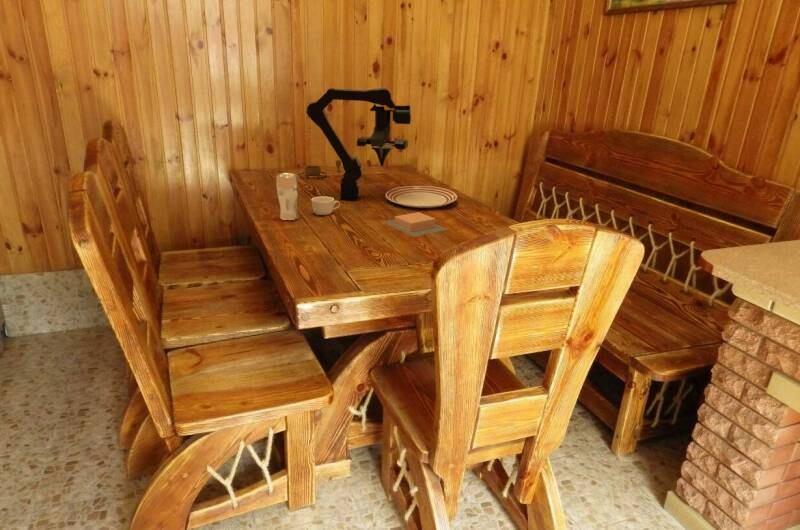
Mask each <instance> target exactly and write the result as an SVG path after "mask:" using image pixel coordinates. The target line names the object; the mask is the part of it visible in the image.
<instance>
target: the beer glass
mask: <svg viewBox="0 0 800 530" xmlns="http://www.w3.org/2000/svg"><path fill="white" fill-rule="evenodd" d="M275 181H276V182H275V184H276V193H277V198H278V202H279V207H280V214H279V220H280V219H282V220H294V221H296V220H295V219H297V218H298V219H299V215H298V211H297V210H298V209H297V204H298V203H297V202H298V196H299V194H298V193H299V187H298V176H297V174H296V173H293V172H283V173H277V174H276V180H275ZM298 219H297V220H298ZM282 220H281V221H282Z"/></svg>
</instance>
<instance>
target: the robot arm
mask: <svg viewBox="0 0 800 530" xmlns="http://www.w3.org/2000/svg"><path fill="white" fill-rule="evenodd" d="M334 100H337V101H358V102H367V103H372V104H373V105H372V107H370V108H369V111H370V112H374V128H373V133H372V134H371V136H360V137H358V138H357V139H356V146H357V147H365V146H366V145H370V146H371V150H373V151H374V152H375V153H376V156H377V158H378V161H379V164H380V166H381V167H383V166H384V165H385V163H386V160H387V158H388V154H389V153H390V151H392V150H393V149H394V148H395V149H396V150H405V149H407V148H408V147H409V140H407V139H405V138H403V139H402V138H397V139H396V140H392V139H391V137H392V136H391V130H392V125H391V120H392V122H394V124H395V125H411V119H412V116H411V105H410V104H406V105H401V104H400V105H396V103H395V102H394V101H393V99H392V96H391V92H390V90H389V89H388V88H386V87H378V88H371V89H350V88H349V89H348V88H346V89H345V88H335V87H330V88H328V89H327V91H326V92H325V93H324V94H323V95H322V96H321V97H320V98H319V99H318V100H317V101H311V103H310V104H308V105H307V107H306V115H307V116H308V118H309V119H311V121H312V122H313V123H314V124H315V125H316V126H317V127H318V128H319V129H321V131H322V133H323V134H324V136H325V137H326V139H327V140H328V143H329V144H330V145H331V147H332V149H333V151H334V152H335V153H336V155H337V157H338V158H339V161H341V165H342V167H343V170H344V173H343V174H342V175H341V178H340V197H339V200H341V201H342V200H343V201H357V200H358V199H359V197H360V196H361V195H360V185H359V181H358V180H359V179H361V177H362V173H363V164H362V163H361V162H360V161H359V158H358V156H357V155H356V156H354V157H353V156H352V155H351V153H350V152H349V151H348V149H347V148H346V145H345V144H344V143H343V141H342V140H341V138H340V137H339V135H338V134H337V132H336V131H335V129H334V127H333V126H332V124H331V122H330V120H329V117H328V113H327V112H326V109H325V108H327V107H328V105H330V104H331V103H332V102H333V101H334ZM385 106H386V107H387V108H385ZM391 113H392V119H391Z"/></svg>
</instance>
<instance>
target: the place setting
mask: <svg viewBox="0 0 800 530" xmlns="http://www.w3.org/2000/svg"><path fill="white" fill-rule="evenodd" d="M341 166H342V162H341V160H340V159H338V160H335V167H337V169H336V170H337V173H338V172H339V173H340V167H341ZM321 169H322V168H321V166H320V165H307V166H305V167H304V171H302V172H300V173H299V176H301V177H305V178H321V179H323V178H322V177H325V176H326V177H327V172H325V171H322V170H321ZM304 173H306V174H307V175H303V176H302V175H301V174H304ZM320 173H322V174H325V175H320ZM319 175H320V176H319ZM309 176H317V177H309ZM301 177H300V178H301ZM326 177H325V178H326Z"/></svg>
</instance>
